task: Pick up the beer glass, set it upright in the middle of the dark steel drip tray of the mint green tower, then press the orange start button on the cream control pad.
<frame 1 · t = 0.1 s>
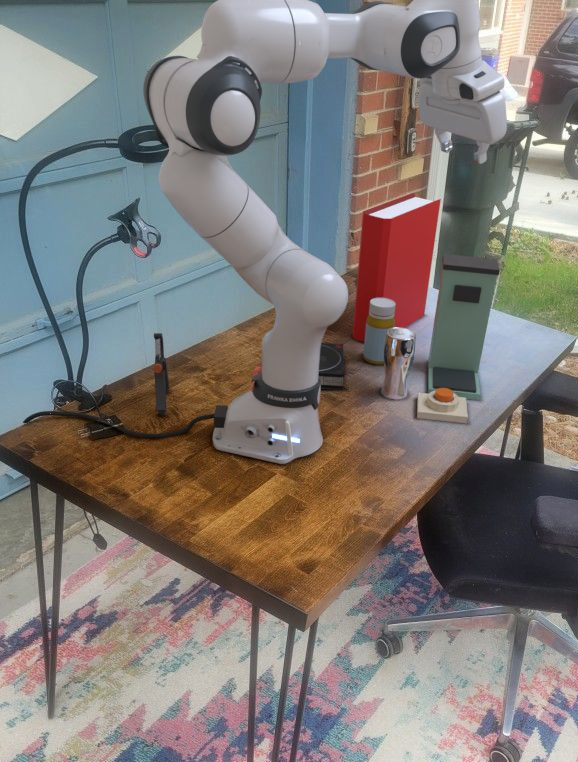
hand: (463, 156, 137), 52 cm above the table, tool tilted 20°, fingers open, 8 cm apart
book: (388, 326, 201), on the table
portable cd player: (308, 373, 175), on the table
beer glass: (393, 394, 169), on the table
control pad: (441, 411, 164), on the table
start button: (444, 395, 162), point 4 cm above the table, slide at 0.1 cm
hand grip strengthener: (163, 404, 158), on the table
bottle: (376, 360, 183), on the table
mint green tower: (452, 380, 177), on the table
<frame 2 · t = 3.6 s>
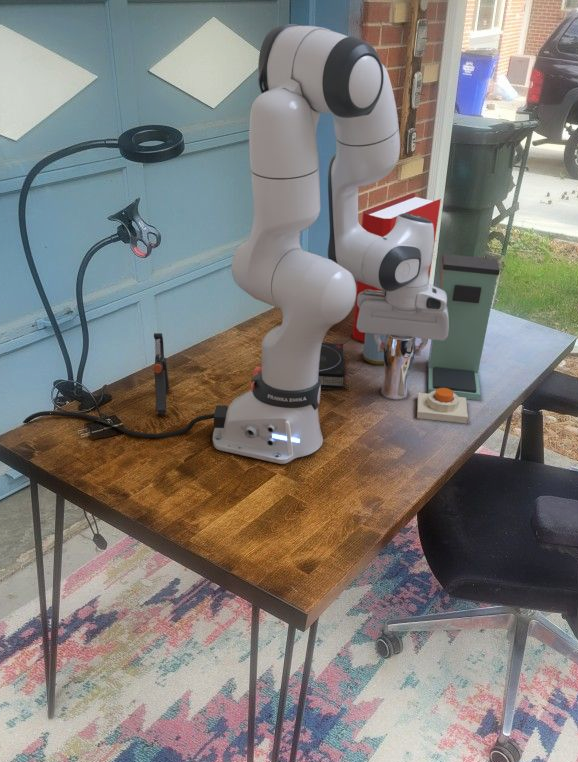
hand: (399, 353, 163), 10 cm above the table, tool pointing down, fingers closed on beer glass, 7 cm apart
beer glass: (393, 394, 169), on the table, touching gripper
everything else where it was.
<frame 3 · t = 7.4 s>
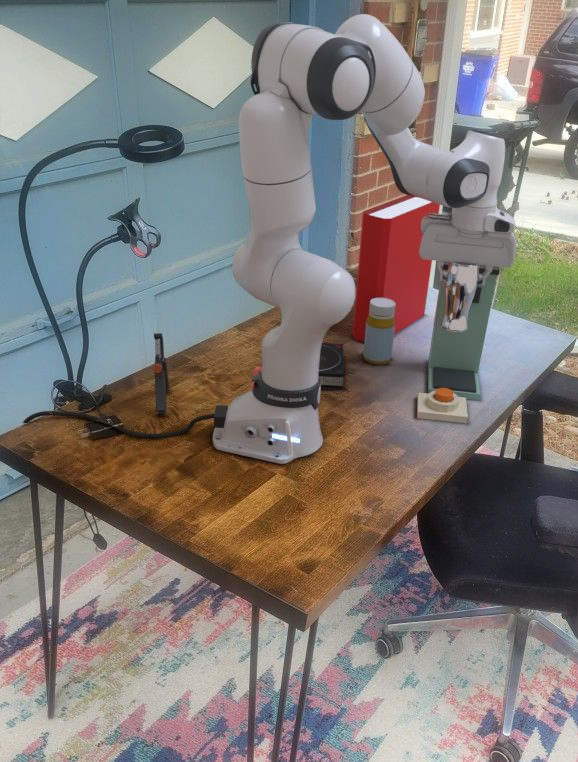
hand: (461, 282, 158), 26 cm above the table, tool pointing down, fingers closed on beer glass, 7 cm apart
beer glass: (453, 327, 164), point 15 cm above the table, touching gripper
everything else where it was.
when the fingers open (12 cm above the table, at t = 11.1 s): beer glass stays where it is, resting on mint green tower.
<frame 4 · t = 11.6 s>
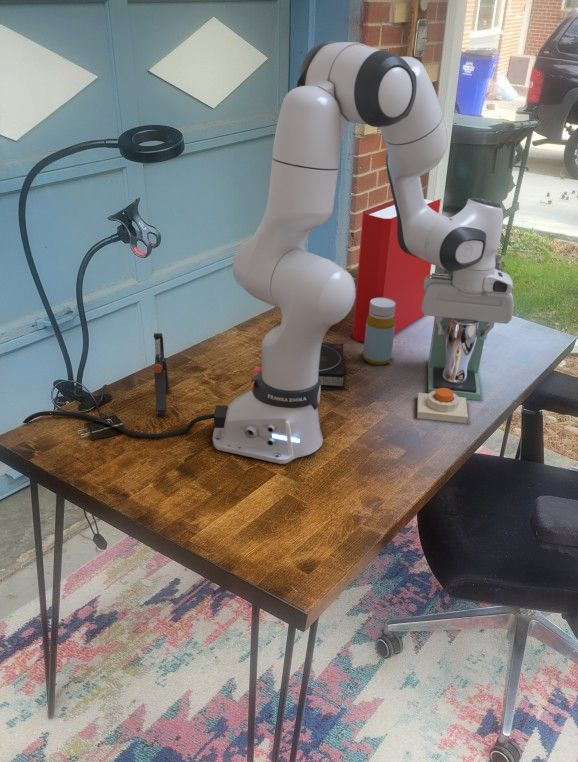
hand: (461, 336, 166), 13 cm above the table, tool pointing down, fingers open, 8 cm apart
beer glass: (453, 378, 173), point 2 cm above the table, touching mint green tower
everything else where it was.
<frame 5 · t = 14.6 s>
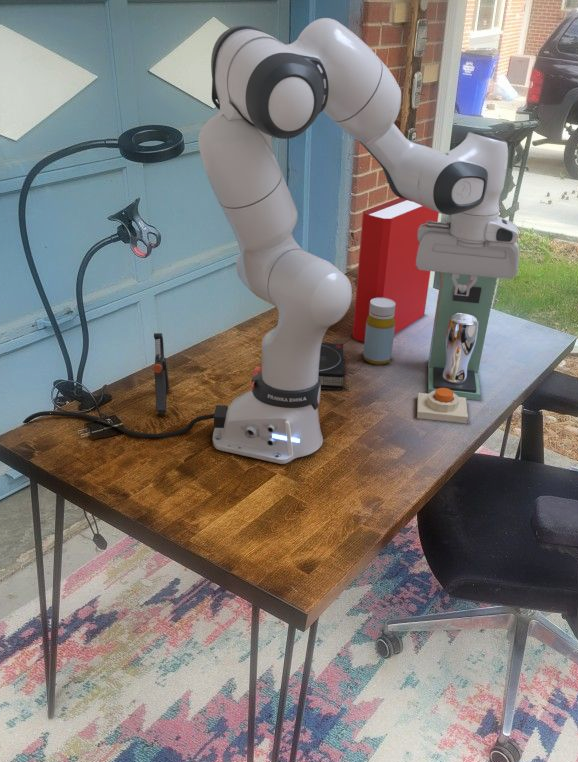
hand: (461, 294, 148), 27 cm above the table, tool pointing down, fingers closed
nothing on the table moved.
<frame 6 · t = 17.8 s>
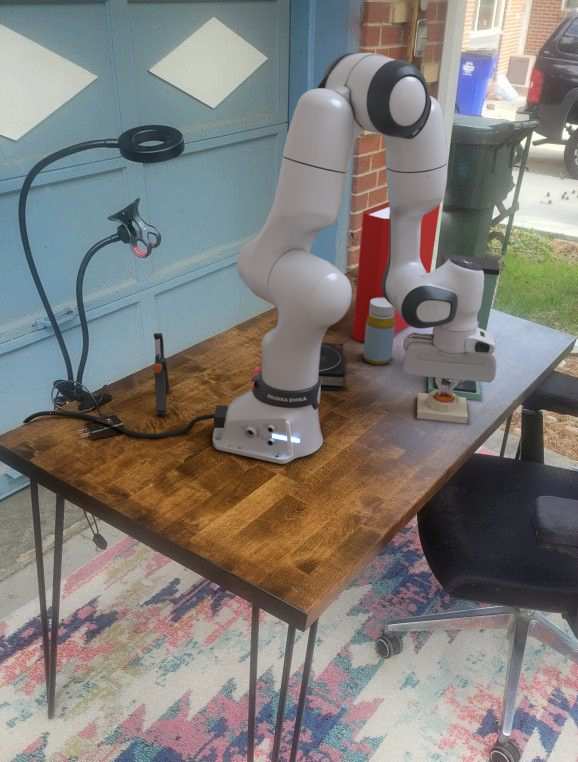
hand: (444, 394, 162), 4 cm above the table, tool pointing down, fingers closed, pressing on start button
start button: (443, 398, 162), point 3 cm above the table, slide at -0.7 cm, touching gripper
everything else where it was.
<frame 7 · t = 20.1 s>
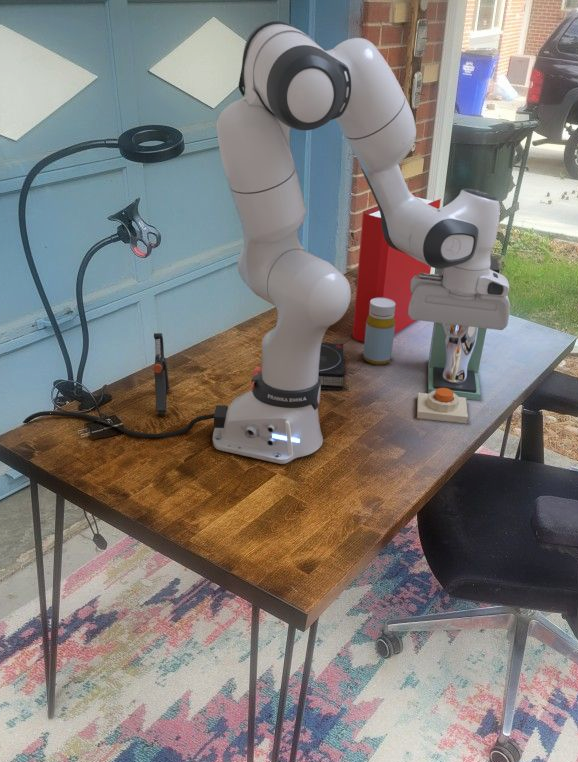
hand: (452, 343, 150), 18 cm above the table, tool pointing down, fingers closed
start button: (444, 395, 162), point 4 cm above the table, slide at 0.1 cm
everything else where it was.
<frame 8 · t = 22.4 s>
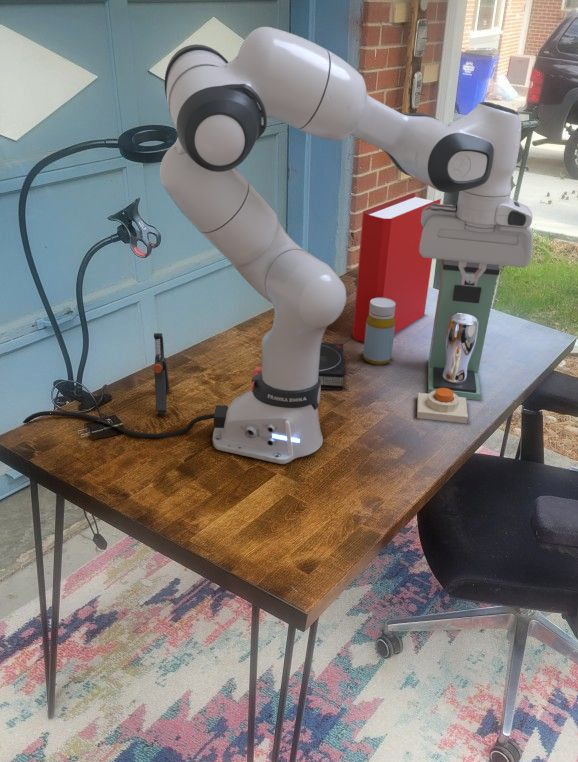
hand: (468, 284, 135), 33 cm above the table, tool pointing down, fingers closed
nothing on the table moved.
at the end: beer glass 0.1 cm from the target spot on the mint green tower, point 2.1 cm above the mint green tower's base; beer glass tilted 0°; start button pushed in 0.9 cm at the most during the clip, back to where it started at the end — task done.
